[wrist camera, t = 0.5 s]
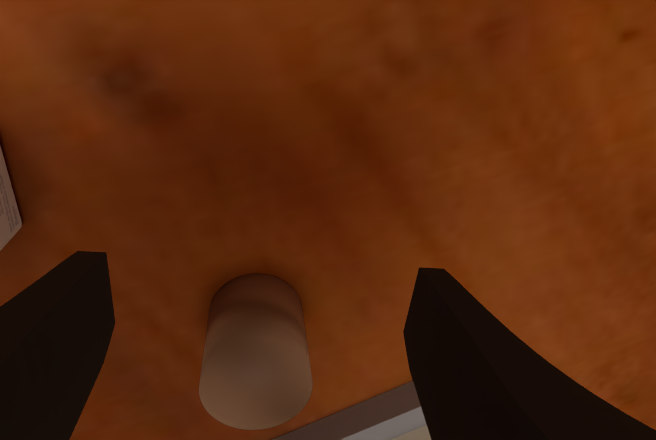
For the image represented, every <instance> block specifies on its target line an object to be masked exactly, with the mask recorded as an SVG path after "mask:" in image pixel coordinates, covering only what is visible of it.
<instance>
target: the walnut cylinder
mask: <svg viewBox="0 0 656 440" xmlns="http://www.w3.org/2000/svg"><path fill="white" fill-rule="evenodd" d="M312 385H313V383H312V375H311V368H310V361H309V353H308V346H307V339H306V332H305V325H304V318H303V311H302V304H301V300H300V298H299V296H298V294H297V292H296V291H295V290H294V289H293V288H292V286H290V285H289V284H288V283H287V282H285V281H283V280H282V279H280V278H277V277H274V276H271V275H267V274H248V275H243V276H240V277H237V278H234V279H232V280H231V281H229V282H227V283H226V284H224V285H223V286H222V287H221V288H220V289H219V290H218V291H217V292H216V294H215V295H214V297H213V299H212V301H211V305H210V310H209V317H208V325H207V332H206V339H205V347H204V354H203V362H202V369H201V376H200V384H199V395H200V399H201V402H202V404H203V406H204V408H205V409H206V411H207V412H208V413H209V414H210V415H211V416H212V417H214V418H215V419H216V420H218V421H219V422H221V423H223V424H225V425H228V426H231V427H234V428H238V429H246V430H259V429H266V428H271V427H274V426H277V425H280V424H282V423H284V422H286V421H288V420H290V419H292V418H293V417H294V416H296V415H297V414H298V413H299V412H300V411H301V410H302V409H303V408H304V407H305V405H306V404H307V402H308V400H309V398H310V396H311V392H312Z"/></svg>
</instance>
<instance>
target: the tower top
mask: <svg viewBox="0 0 656 440" xmlns="http://www.w3.org/2000/svg"><path fill="white" fill-rule="evenodd" d="M391 440H431V437H430V434H429V431H428V427H427V425H425V426H423V427H420V428H418V429H415V430H413V431H411V432H408V433H406V434H403V435H401V436H398V437H396V438H393V439H391Z"/></svg>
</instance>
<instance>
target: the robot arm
mask: <svg viewBox="0 0 656 440" xmlns="http://www.w3.org/2000/svg"><path fill="white" fill-rule="evenodd" d="M114 325H115V317H114V309H113V302H112V294H111V286H110V278H109V270H108V263H107V255H106V252H85V251H77V252H76V253H74V254H73V255H71V256H70V257H68V258H67V259H66V260H64V261H63V262H61V263H60V264H59V265H57V266H56V267H55V268H53V269H52V270H51V271H49V272H48V273H47V274H45V275H44V276H43V277H41V278H40V279H39V280H37V281H36V282H34V283H33V284H32V285H30V286H29V287H27V288H26V289H25V290H23V291H22V292H21V293H19V294H18V295H16V296H15V297H14V298H12V299H11V300H9V301H8V302H7V303H5V304H4V305H2V306H1V307H0V440H69V439H70V437H71V435H72V432H73V430H74V428H75V426H76V424H77V421H78V419H79V417H80V415H81V412H82V410H83V408H84V406H85V404H86V401H87V399H88V397H89V395H90V392H91V390H92V388H93V386H94V383H95V381H96V379H97V377H98V374H99V372H100V370H101V367H102V365H103V363H104V359H105V356H106V353H107V350H108V346H109V343H110V339H111V336H112V332H113V329H114ZM404 339H405V345H406V352H407V357H408V363H409V368H410V372H411V376H412V379H413V382H414V386H415V389H416V392H417V395H418V399H419V402H420V405H421V408H422V412H423V415H424V418H425V421H426V424H427V427H428V431H429V434H430V437H431V440H656V430H654V429H652V428H650V427H648V426H647V425H645V424H643V423H641V422H640V421H638V420H636V419H634V418H632V417H631V416H629V415H627V414H626V413H624V412H622V411H621V410H619V409H617V408H616V407H614V406H612V405H611V404H609V403H608V402H606V401H604V400H603V399H601V398H600V397H598V396H596V395H595V394H593V393H592V392H590V391H589V390H587V389H586V388H584V387H583V386H581V385H580V384H578V383H577V382H575V381H574V380H572V379H571V378H570V377H568V376H567V375H565V374H564V373H563V372H561V371H560V370H558V369H557V368H556V367H554V366H553V365H551V364H550V363H549V362H548V361H546V360H545V359H544V358H542V357H541V356H540V355H539V354H537V353H536V352H535V351H534V350H532V349H531V348H530V347H529V346H528V345H526V344H525V343H524V342H523V341H522V340H520V339H519V338H518V337H517V336H516V335H514V334H513V333H512V332H511V331H510V330H509V329H508V328H506V327H505V326H504V325H503V324H502V323H501V322H500V321H499V320H498V319H496V318H495V317H494V316H493V315H492V314H491V313H490V312H489V311H488V310H487V309H486V308H485V307H484V306H483V305H482V304H480V303H479V302H478V301H477V300H476V299H475V298H474V297H473V296H472V295H471V294H470V293H469V292H468V291H467V290H466V289H465V288H464V287H463V286H462V285H461V284H460V283H459V282H458V281H457V280H456V279H455V278H453V277H452V276H451V275H450V274H449V273H448V272H447V271H446V270H445V269H438V268H419V270H418V274H417V278H416V283H415V287H414V291H413V295H412V299H411V303H410V307H409V311H408V315H407V319H406V323H405V328H404Z"/></svg>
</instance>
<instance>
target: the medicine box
mask: <svg viewBox="0 0 656 440" xmlns="http://www.w3.org/2000/svg"><path fill="white" fill-rule="evenodd" d="M21 227H22V221H21V218H20V214H19V211H18V207H17V204H16V200H15V196H14V193H13V189H12V186H11V182H10V178H9V175H8V172H7V168H6V164H5V160H4V157H3V153H2V150H1V146H0V251H1V249H2V248H3V247H4V246H5V245H6V244H7V243H8V242H9V241H10V239H11V238H12V237H13V236H14V235H15V234H16V233H17V232H18V231H19V229H20V228H21Z"/></svg>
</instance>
